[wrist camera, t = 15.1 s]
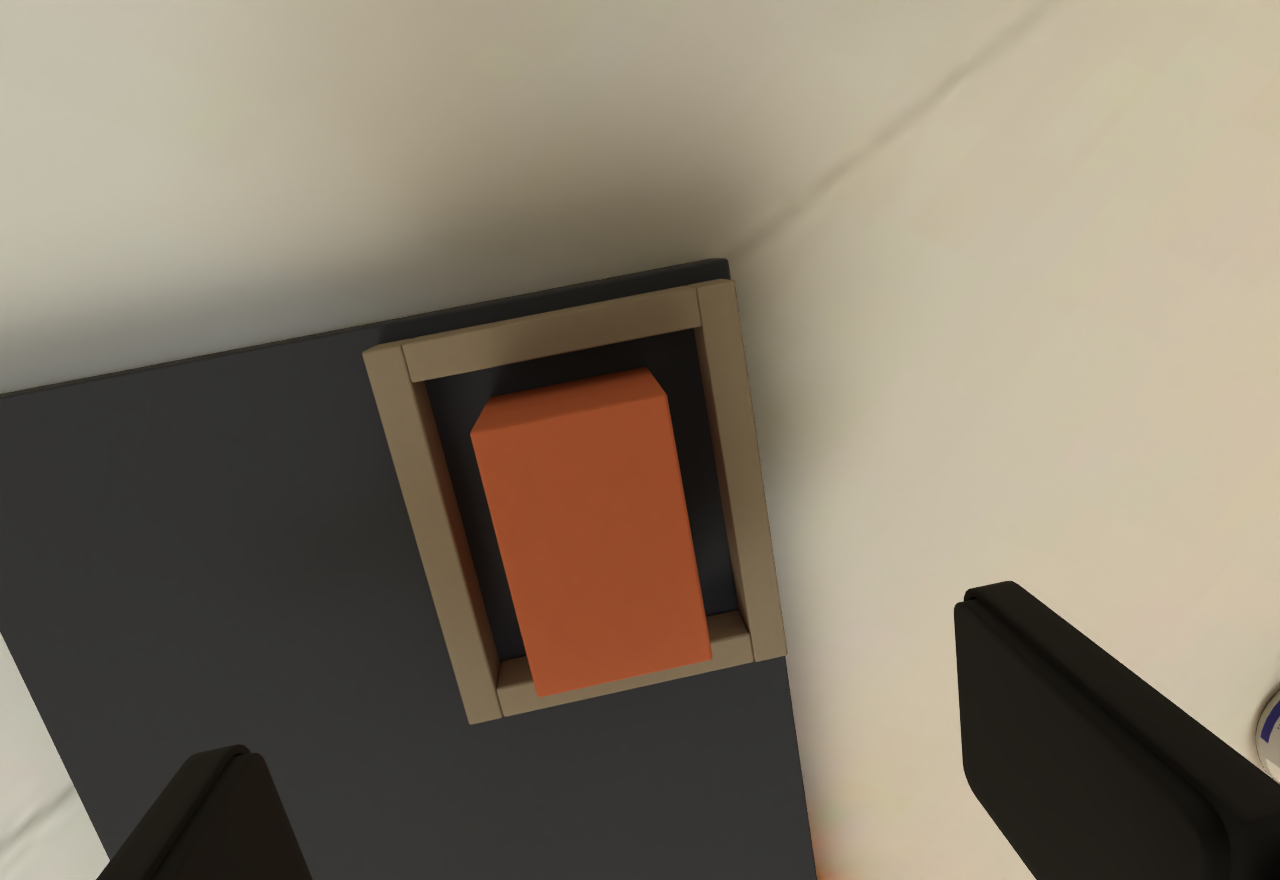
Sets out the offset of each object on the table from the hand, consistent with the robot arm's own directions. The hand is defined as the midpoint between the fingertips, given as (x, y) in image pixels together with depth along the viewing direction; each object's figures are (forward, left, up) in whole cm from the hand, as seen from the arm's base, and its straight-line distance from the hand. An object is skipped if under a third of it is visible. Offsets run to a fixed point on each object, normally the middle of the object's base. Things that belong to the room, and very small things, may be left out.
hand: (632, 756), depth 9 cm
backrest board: (+9, -6, -14) cm, 18 cm away
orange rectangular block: (0, 0, -12) cm, 12 cm away
